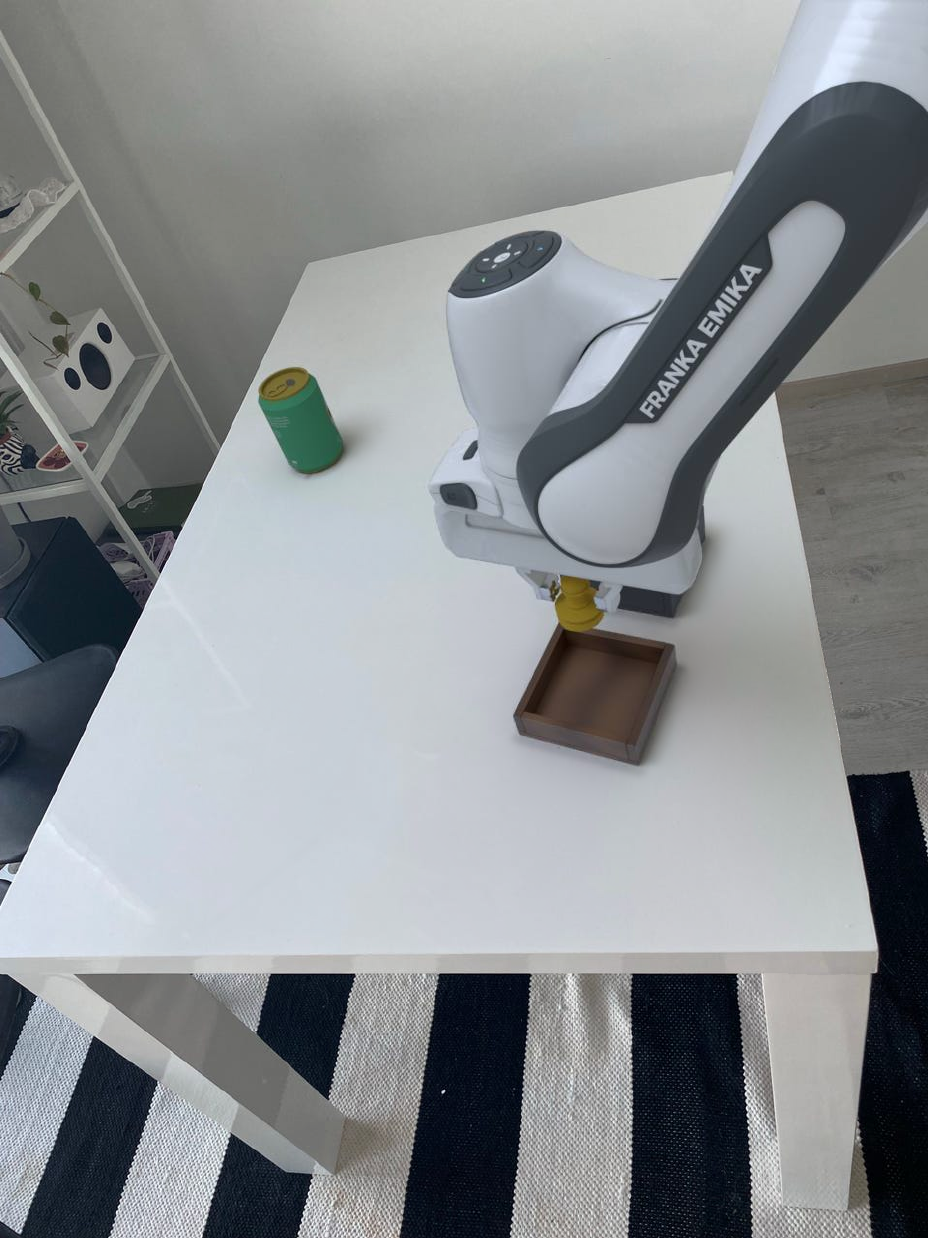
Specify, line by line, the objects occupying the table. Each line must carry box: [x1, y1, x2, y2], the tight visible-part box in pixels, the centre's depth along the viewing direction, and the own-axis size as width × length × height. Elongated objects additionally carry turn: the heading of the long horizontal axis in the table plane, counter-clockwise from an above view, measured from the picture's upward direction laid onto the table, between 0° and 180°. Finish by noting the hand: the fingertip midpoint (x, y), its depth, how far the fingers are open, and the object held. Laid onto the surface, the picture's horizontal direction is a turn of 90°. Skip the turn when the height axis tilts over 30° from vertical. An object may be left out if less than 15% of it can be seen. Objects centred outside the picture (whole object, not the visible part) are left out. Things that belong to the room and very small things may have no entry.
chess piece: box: [554, 575, 605, 632], centre depth 71 cm, size 4×4×5 cm
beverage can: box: [257, 366, 344, 474], centre depth 116 cm, size 8×8×12 cm
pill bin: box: [559, 504, 706, 619], centre depth 91 cm, size 12×12×5 cm
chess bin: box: [512, 622, 678, 766], centre depth 81 cm, size 12×12×3 cm
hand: (577, 600), depth 71 cm, fingers closed on chess piece, 4 cm apart
